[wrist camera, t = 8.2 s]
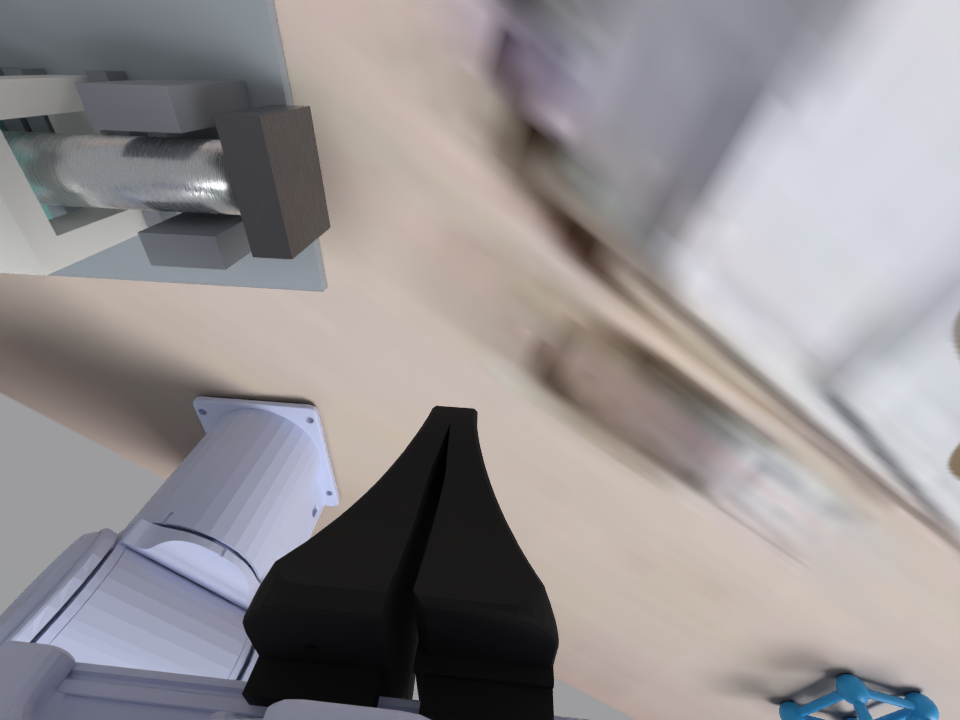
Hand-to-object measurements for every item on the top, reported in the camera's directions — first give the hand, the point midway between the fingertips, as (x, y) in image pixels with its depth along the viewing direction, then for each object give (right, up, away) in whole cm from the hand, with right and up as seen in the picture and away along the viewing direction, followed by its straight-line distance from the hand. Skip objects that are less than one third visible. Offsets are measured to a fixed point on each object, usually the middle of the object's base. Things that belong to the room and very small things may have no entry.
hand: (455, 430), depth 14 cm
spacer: (-16, +11, +5) cm, 20 cm away
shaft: (-13, +10, +4) cm, 18 cm away
